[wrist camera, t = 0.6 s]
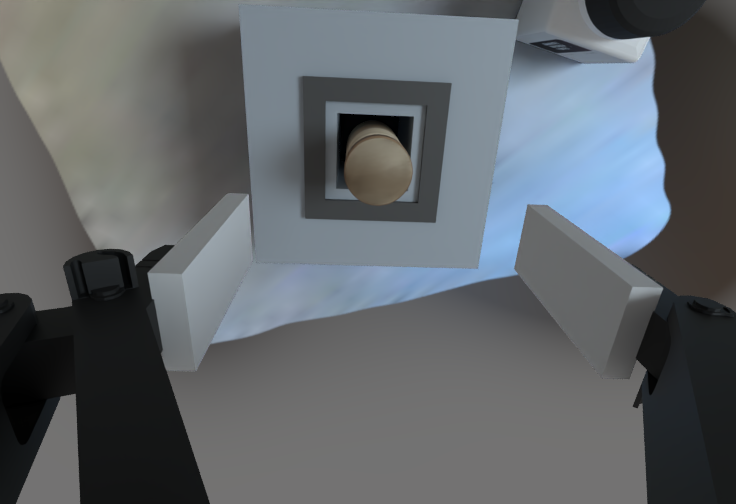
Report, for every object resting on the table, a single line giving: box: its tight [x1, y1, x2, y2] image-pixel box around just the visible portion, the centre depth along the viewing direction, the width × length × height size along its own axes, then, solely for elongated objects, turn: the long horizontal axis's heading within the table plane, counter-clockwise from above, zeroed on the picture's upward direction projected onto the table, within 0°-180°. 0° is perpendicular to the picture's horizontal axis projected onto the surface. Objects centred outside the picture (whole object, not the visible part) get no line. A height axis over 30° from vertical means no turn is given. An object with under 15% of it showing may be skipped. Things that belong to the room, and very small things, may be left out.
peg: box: [344, 120, 413, 206], centre depth 29 cm, size 4×4×9 cm
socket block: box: [239, 4, 519, 269], centre depth 35 cm, size 18×18×10 cm
